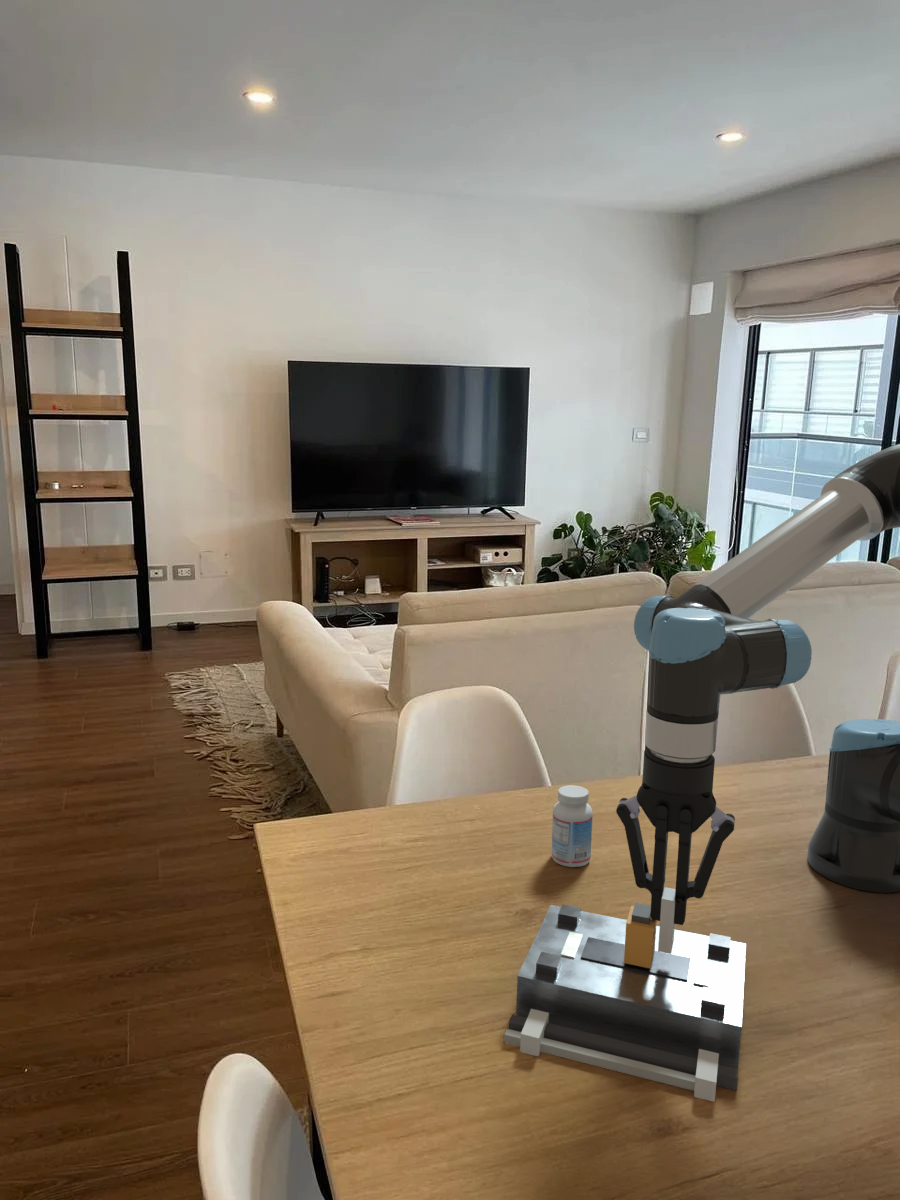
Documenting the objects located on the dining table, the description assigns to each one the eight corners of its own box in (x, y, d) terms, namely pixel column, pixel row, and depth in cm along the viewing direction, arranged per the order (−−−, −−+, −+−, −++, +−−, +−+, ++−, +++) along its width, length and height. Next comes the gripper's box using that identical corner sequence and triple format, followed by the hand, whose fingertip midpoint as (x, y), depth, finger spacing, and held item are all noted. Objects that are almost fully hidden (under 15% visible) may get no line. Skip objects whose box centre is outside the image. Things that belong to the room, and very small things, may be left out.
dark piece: (743, 962, 111) (745, 946, 110) (735, 1107, 87) (737, 1087, 87) (556, 924, 118) (556, 909, 118) (502, 1047, 95) (502, 1029, 94)
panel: (742, 980, 107) (746, 934, 106) (738, 1069, 92) (742, 1016, 91) (549, 939, 115) (551, 896, 114) (516, 1015, 100) (517, 966, 99)
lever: (654, 949, 104) (657, 904, 103) (650, 968, 100) (653, 922, 99) (629, 944, 105) (631, 899, 103) (623, 962, 101) (626, 916, 100)
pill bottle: (589, 851, 139) (592, 784, 137) (591, 870, 133) (595, 800, 131) (550, 848, 140) (553, 782, 138) (551, 867, 134) (553, 798, 132)
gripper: (742, 747, 98) (726, 940, 102) (624, 732, 102) (614, 918, 106) (741, 771, 91) (723, 977, 95) (614, 754, 95) (603, 952, 100)
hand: (665, 945), depth 101 cm, fingers closed
